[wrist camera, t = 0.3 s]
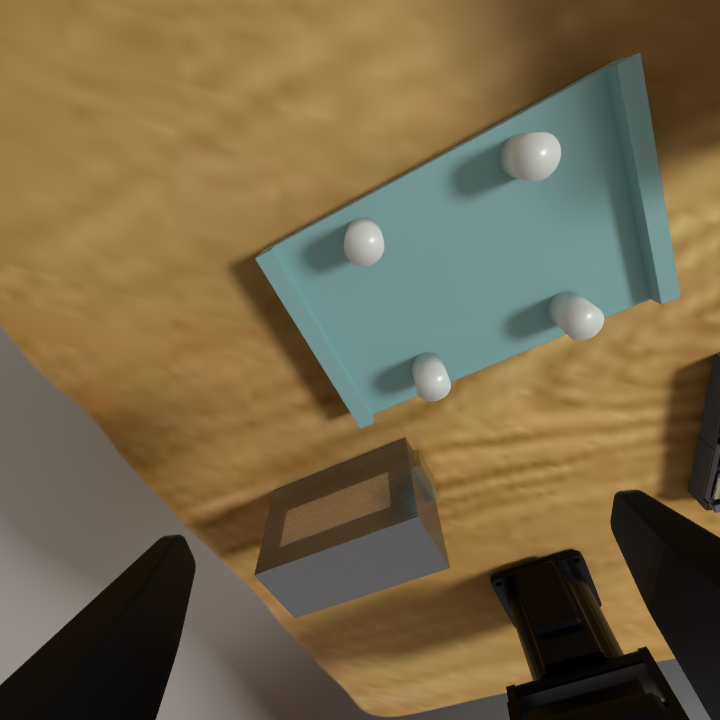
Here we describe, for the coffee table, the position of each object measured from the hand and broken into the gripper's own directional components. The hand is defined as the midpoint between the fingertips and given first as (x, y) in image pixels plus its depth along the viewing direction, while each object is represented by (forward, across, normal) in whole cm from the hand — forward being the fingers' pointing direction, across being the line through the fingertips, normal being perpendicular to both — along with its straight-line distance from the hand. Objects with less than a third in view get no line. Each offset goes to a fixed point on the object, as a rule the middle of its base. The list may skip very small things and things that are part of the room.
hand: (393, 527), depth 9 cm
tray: (+14, -4, -2) cm, 14 cm away
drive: (+14, +3, +12) cm, 18 cm away
